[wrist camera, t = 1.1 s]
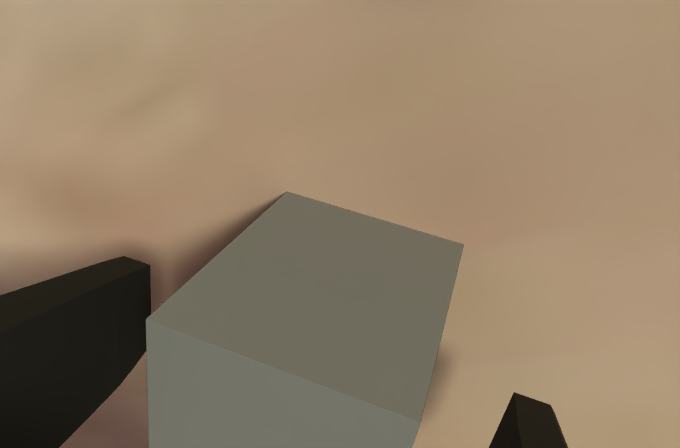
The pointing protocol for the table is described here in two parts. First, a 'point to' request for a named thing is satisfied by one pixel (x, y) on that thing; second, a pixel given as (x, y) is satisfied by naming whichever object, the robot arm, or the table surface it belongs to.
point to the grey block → (302, 335)
